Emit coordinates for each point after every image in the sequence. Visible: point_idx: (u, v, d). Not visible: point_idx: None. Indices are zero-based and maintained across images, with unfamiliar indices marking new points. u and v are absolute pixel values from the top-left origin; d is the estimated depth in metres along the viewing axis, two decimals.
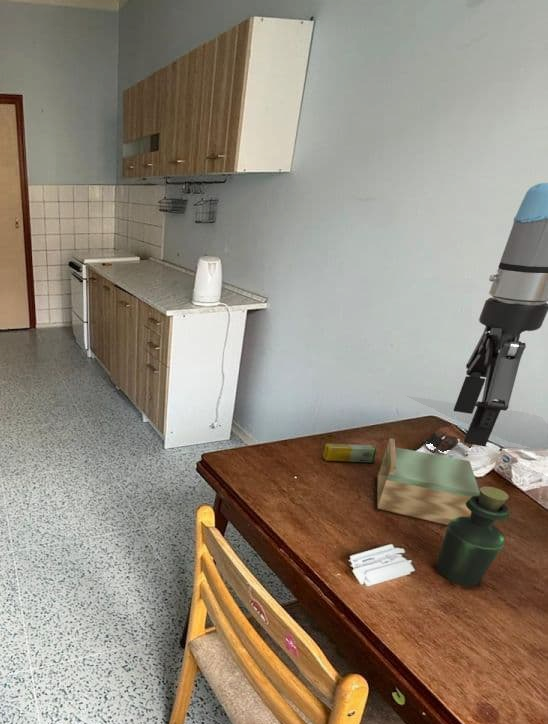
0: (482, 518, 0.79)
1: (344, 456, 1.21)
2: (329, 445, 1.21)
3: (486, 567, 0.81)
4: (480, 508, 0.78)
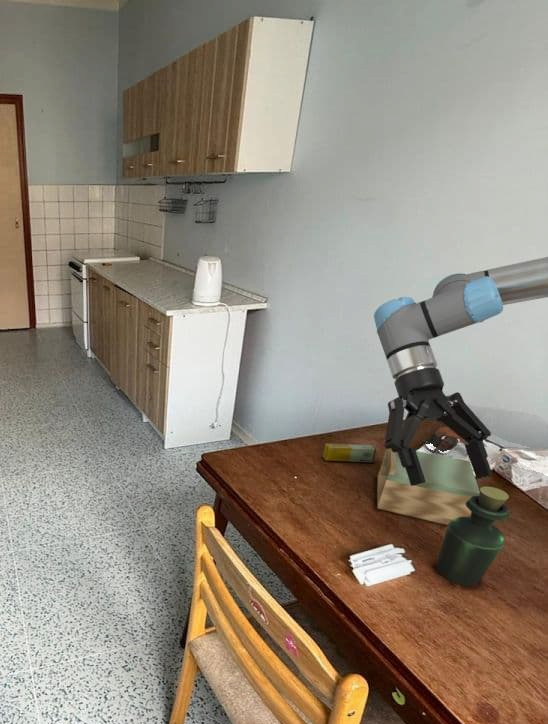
0: (482, 518, 0.79)
1: (344, 456, 1.21)
2: (329, 445, 1.21)
3: (486, 567, 0.81)
4: (480, 508, 0.78)
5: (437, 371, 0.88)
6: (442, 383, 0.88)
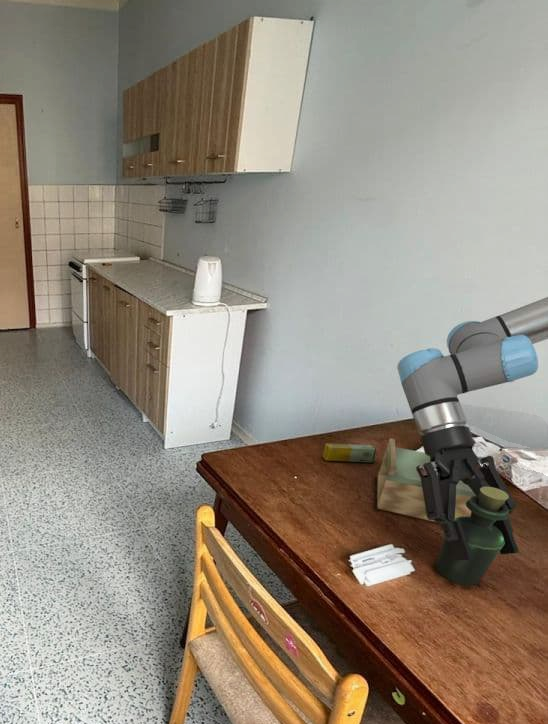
0: (482, 518, 0.79)
1: (344, 456, 1.21)
2: (329, 445, 1.21)
3: (486, 567, 0.81)
4: (480, 508, 0.78)
5: (467, 429, 0.83)
6: (473, 443, 0.83)
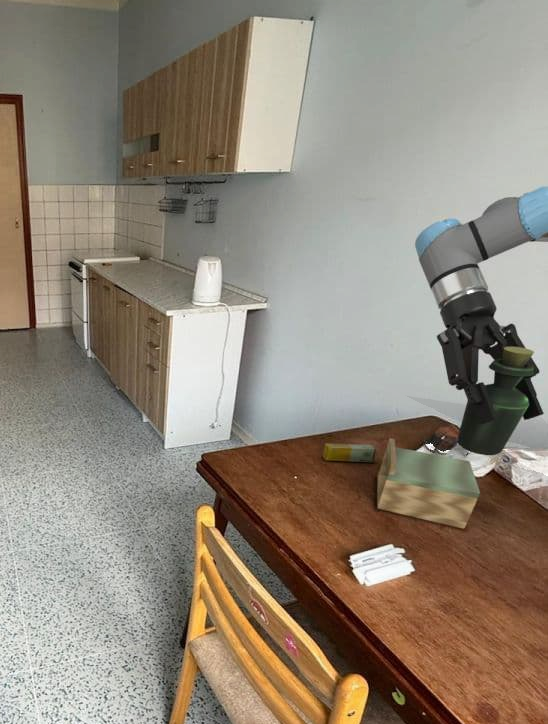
0: (506, 378, 0.77)
1: (344, 456, 1.21)
2: (329, 445, 1.21)
3: (510, 432, 0.79)
4: (504, 366, 0.76)
5: (489, 294, 0.81)
6: (495, 307, 0.81)
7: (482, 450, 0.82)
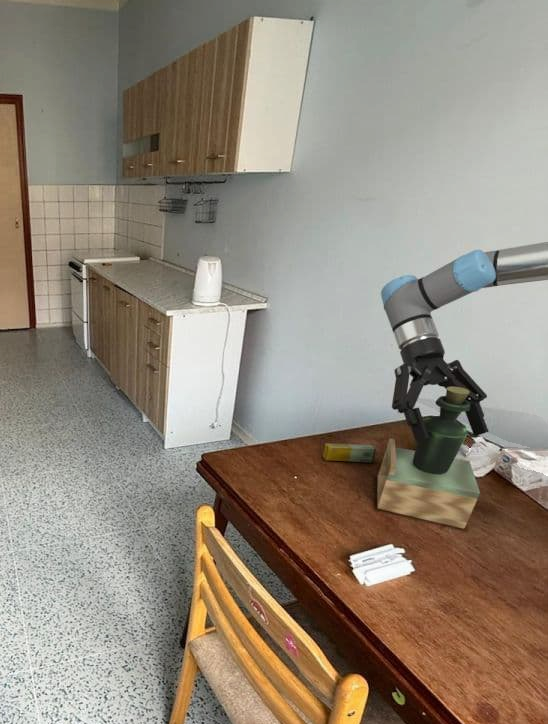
0: (448, 412, 0.95)
1: (344, 456, 1.21)
2: (329, 445, 1.21)
3: (452, 455, 0.97)
4: (446, 403, 0.94)
5: (438, 340, 0.99)
6: (443, 351, 0.98)
7: (431, 470, 0.99)
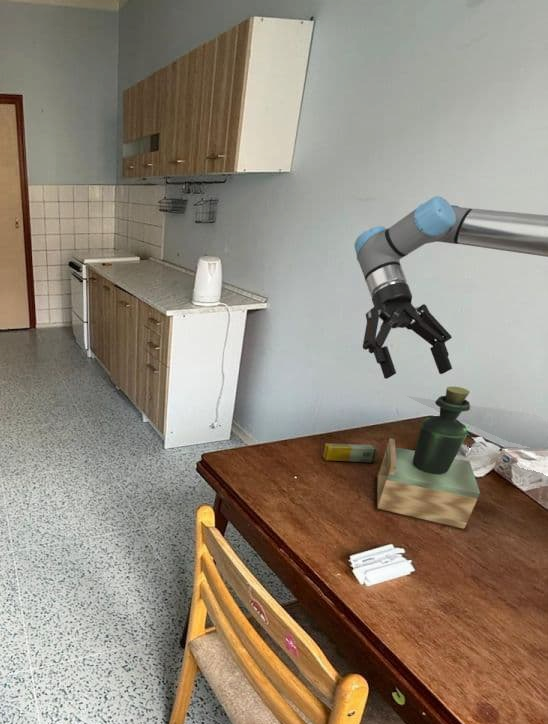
0: (448, 412, 0.95)
1: (344, 455, 1.21)
2: (329, 445, 1.21)
3: (452, 455, 0.97)
4: (446, 403, 0.94)
5: (406, 285, 1.06)
6: (410, 295, 1.05)
7: (431, 470, 0.99)
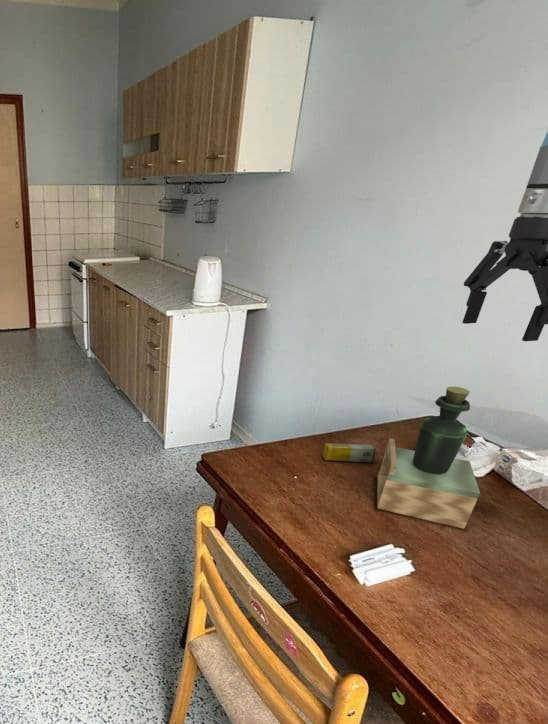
0: (448, 412, 0.95)
1: (344, 455, 1.21)
2: (329, 445, 1.21)
3: (452, 455, 0.97)
4: (446, 403, 0.94)
5: None
6: None
7: (431, 470, 0.99)
